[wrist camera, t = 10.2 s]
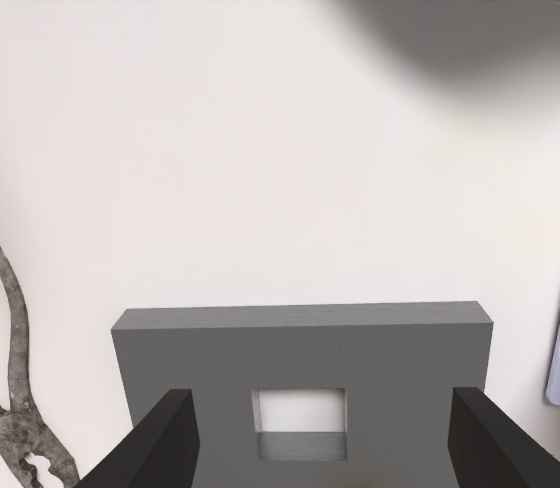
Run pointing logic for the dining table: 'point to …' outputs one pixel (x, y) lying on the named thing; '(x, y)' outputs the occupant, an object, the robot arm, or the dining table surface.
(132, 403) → the grey board with hole
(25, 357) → the pliers
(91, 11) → the dining table surface
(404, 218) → the dining table surface
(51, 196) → the dining table surface
